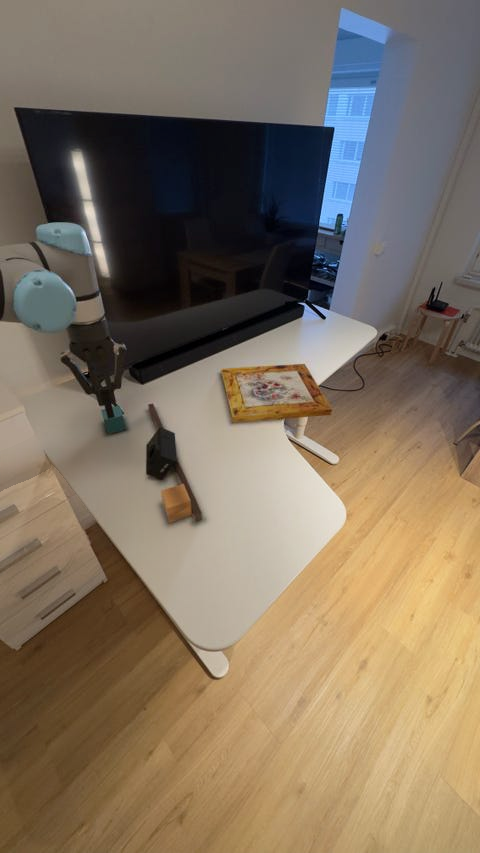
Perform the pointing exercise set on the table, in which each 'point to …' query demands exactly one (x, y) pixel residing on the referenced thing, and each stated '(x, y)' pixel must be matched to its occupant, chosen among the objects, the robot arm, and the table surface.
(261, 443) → the table surface
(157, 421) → the rail
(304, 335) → the table surface
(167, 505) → the oak block
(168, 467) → the digital camera
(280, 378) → the picture frame
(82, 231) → the robot arm
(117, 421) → the teal block
